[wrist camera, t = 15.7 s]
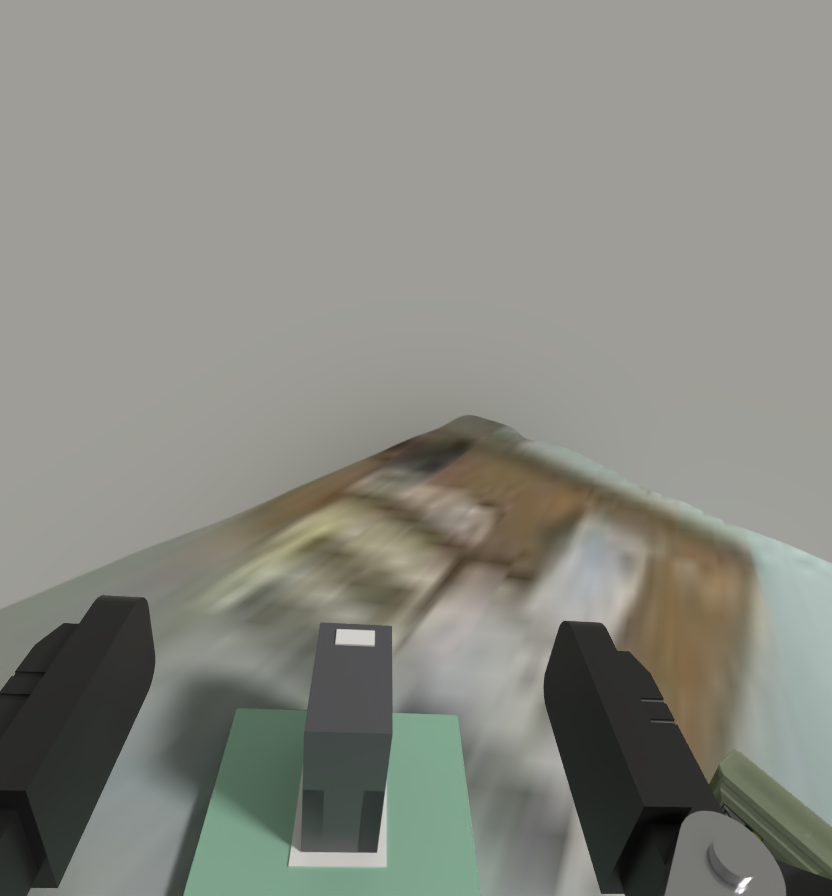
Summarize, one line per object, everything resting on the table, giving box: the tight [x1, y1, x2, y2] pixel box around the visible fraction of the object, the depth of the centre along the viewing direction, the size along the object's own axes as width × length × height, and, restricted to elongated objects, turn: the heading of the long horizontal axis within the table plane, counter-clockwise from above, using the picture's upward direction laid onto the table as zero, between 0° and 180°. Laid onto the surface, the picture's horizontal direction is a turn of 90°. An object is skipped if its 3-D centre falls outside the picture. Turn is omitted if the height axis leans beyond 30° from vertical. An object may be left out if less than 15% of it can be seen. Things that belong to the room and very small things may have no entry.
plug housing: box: [301, 623, 393, 853], centre depth 28 cm, size 6×4×9 cm, turn 3°
